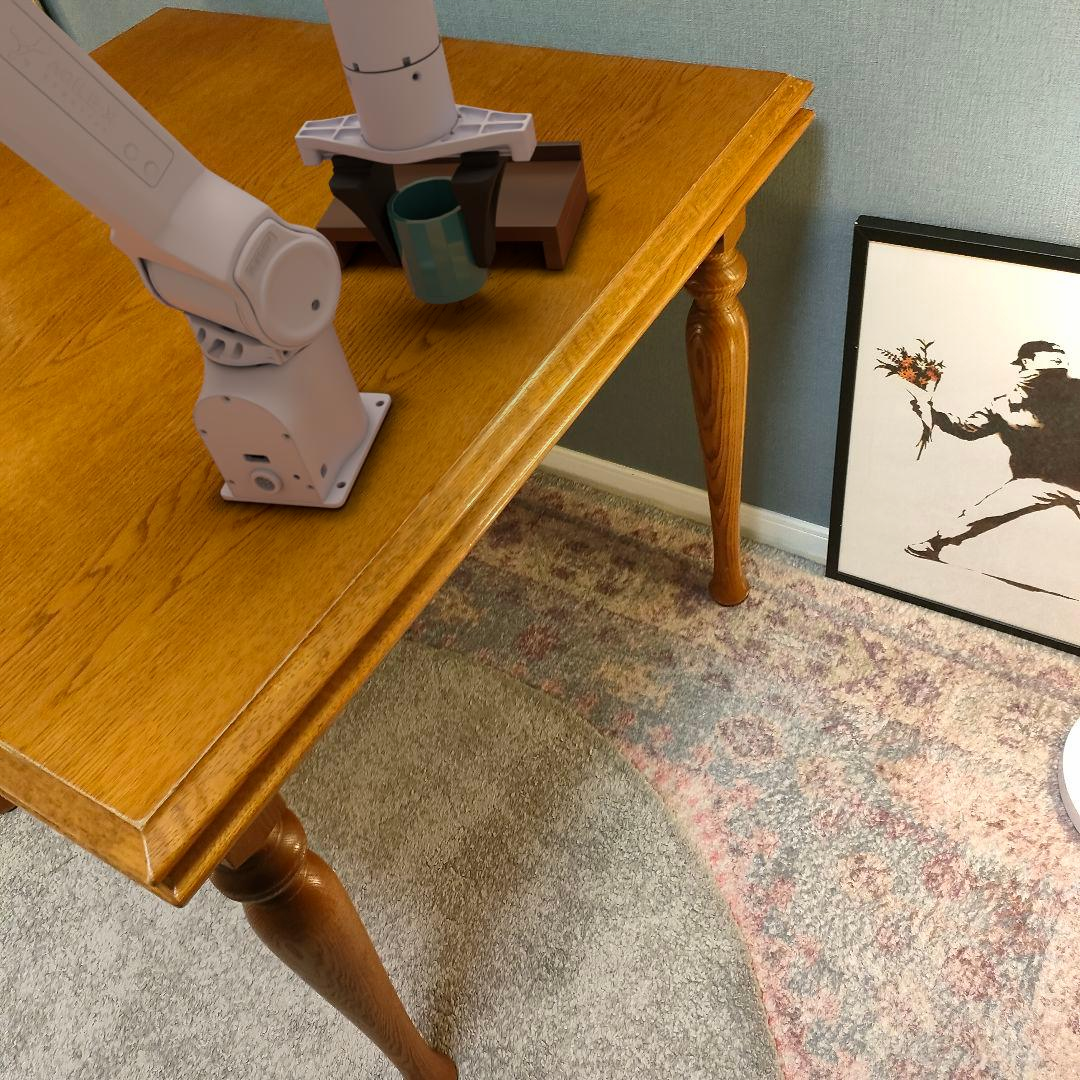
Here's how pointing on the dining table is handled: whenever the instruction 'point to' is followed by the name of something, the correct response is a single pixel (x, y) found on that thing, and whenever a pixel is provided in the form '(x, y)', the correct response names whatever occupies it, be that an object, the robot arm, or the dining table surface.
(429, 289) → the cup
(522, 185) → the shelf
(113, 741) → the dining table surface
